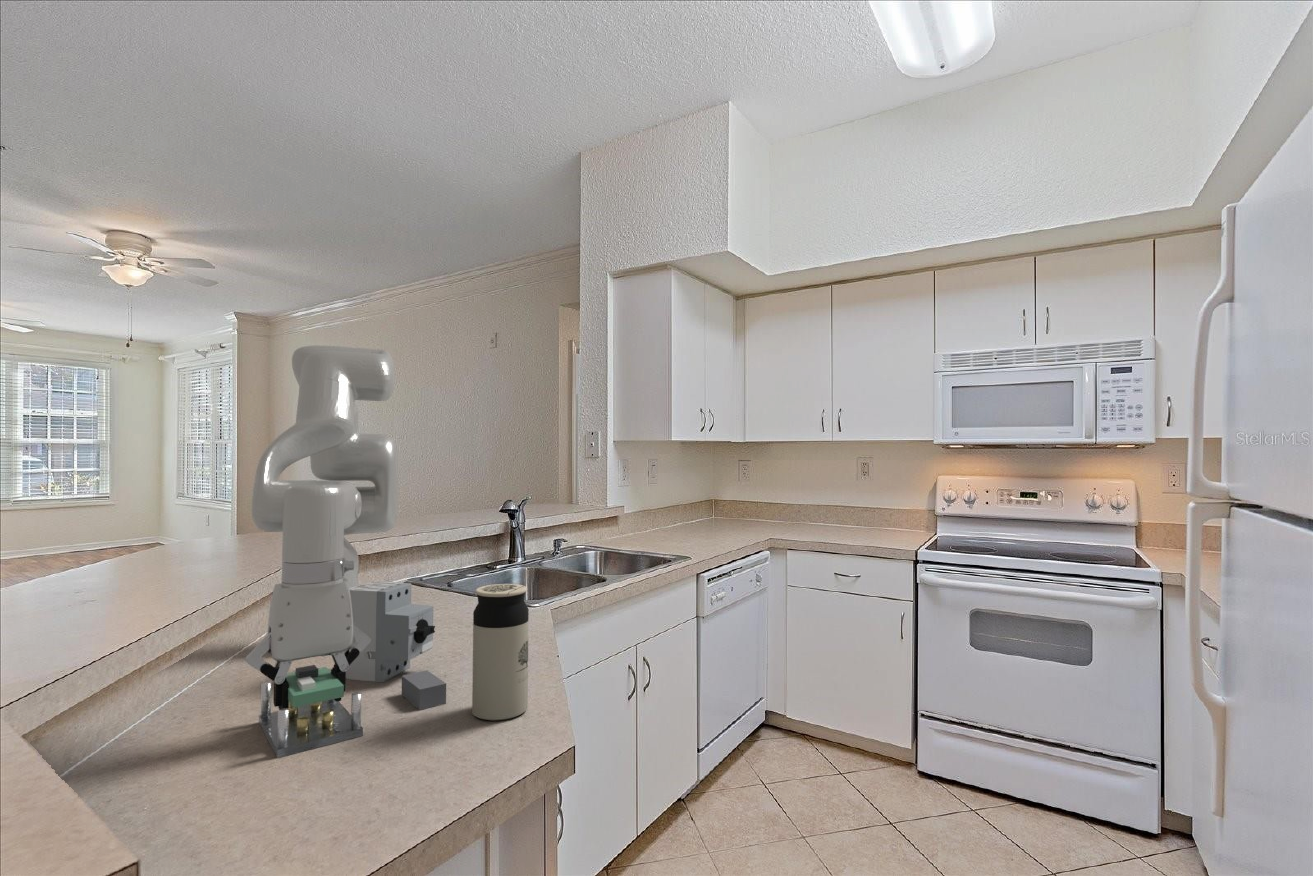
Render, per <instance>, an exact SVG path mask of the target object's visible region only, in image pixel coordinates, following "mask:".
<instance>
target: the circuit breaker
mask: <svg viewBox="0 0 1313 876" xmlns="http://www.w3.org/2000/svg"><path fill="white" fill-rule="evenodd" d="M349 589H350V595H351V604H352V614H353V624H354V625H355V626H357V627H358V628H359V629H360V630H361V631H362V632H364V633H365V634H366V635H367V636H368V637H370V639H371V642H370V643H369V644H368V645H367V646H366V647H365V648H364V649H363V650H362V651H361V652H360V653H359V655H358V657H357V658H356V659H355V660H354V661H353V662H352V663H351V664H350V666H349V669H348V670H347V671H346V679H347V680H352V681H365V682H378V683H384V682H387V681H389V680H390V679H391V678H394V677H395V676H397V675H399V674H401V673H403V672H405V671H407V670H408V669H410V668H411V660H413V659H414V658H416V657H418V656H420V655H423V654H424V653H425V652H428V651H430V650H432V649H433V647H434V633H436V631H435V628H436V625H434V605H430V604H429V605H426V604H412V583H410V582H391V581H388V582H387V581H369V582H365V583H363V584H362V583H361V584H360V585H358V586H355V587H352V588H349ZM355 642H356V638H355V637H354V636H353V643H352V645H351V647H352V646H353V645H354V643H355ZM348 649H349V648H348ZM348 649H347V650H348ZM347 650H345V651H343V652H344V653H345V652H346V651H347Z"/></svg>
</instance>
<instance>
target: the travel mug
mask: <svg viewBox="0 0 1313 876" xmlns="http://www.w3.org/2000/svg"><path fill="white" fill-rule="evenodd" d="M527 591H528V587H527V586H525V585H522V584H517V583H497V584H496V583H495V584H489V585H488V584H487V585H483V586H480V587H477V588H476V589H475V592H474V593H475V594H476V596H477V602H478V603H477V605H476V606H475V608H474V610H473V614H472V616H473V618H472V620H473V621H472V626H473V627H472V693H471V694H472V701H471V708H472V709H471V713H472V714H473V716H475V717H477V718H478V719H481V720H483V721H494V722H496V721H507V720H510V719H513V718H516V717H519V716H520V715H522V714H524V713H525V712H527V710H528V707H529V705H528V704H529V701H528V700H529V689H528V688H529V611H530V610H529V608H528V606H527V605H528V604H526V602H525V596H526V592H527Z"/></svg>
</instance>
